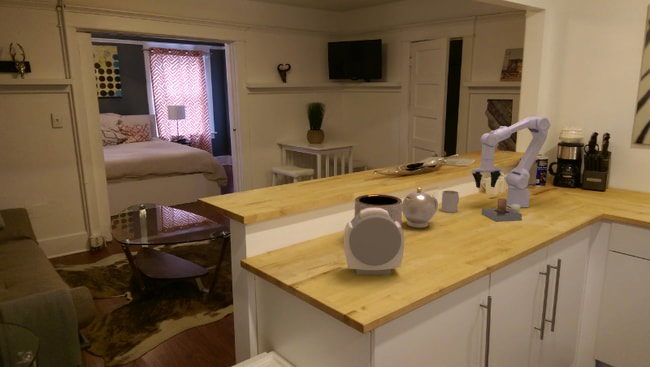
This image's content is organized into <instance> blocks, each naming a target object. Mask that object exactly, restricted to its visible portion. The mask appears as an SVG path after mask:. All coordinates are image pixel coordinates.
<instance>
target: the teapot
mask: <svg viewBox="0 0 650 367" xmlns="http://www.w3.org/2000/svg"><path fill="white" fill-rule="evenodd" d="M422 190H423V189H422V187H419V186H418V187H417V188H416V191H413V192H410V193H408V195H407V194H406V196H405V198H403V200H402V216H404V218H405V219H406V220H407V221H406V225H407V226H408V227H409V228H414V229H425V228H427V227H429V222H430V221H431V220H432V219H433V217H434V216H435V215H436V213H437V210H438V208H439V202H438V200H437V198H436V197H434V196H431V195H430V194H429V193H427V192H425V191H422Z"/></svg>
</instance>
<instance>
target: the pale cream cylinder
mask: <svg viewBox="0 0 650 367" xmlns="http://www.w3.org/2000/svg"><path fill="white" fill-rule="evenodd" d="M520 208H521V207H520V205H518V204H512V206H511V207H510V209H511V210H513V211H515V212H518V213H520V211H521V209H520ZM520 214H521V213H520Z"/></svg>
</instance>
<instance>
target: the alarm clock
mask: <svg viewBox="0 0 650 367" xmlns="http://www.w3.org/2000/svg"><path fill="white" fill-rule="evenodd" d="M354 216H355V215H354ZM354 216H353V218H352V220H350V221H347V223H346V224H345V228H344V231H343V232H344V233H343V244H344V246H343V247H344V254H345V258H346V260H345V261H346V265H347V269H353V270H355V272H356V276H360V275H361V276H362V275H363V276H366V275H367V276H370V275H373V276H374V275H378V276H379V275H392V269H398V268H401V265H402V262H403V259H404V252H405V241H406V240H405V235H404V230H403V229H402V228H403V227H402V228H401V226H400V224H399V223H398V221H396V222H394V221H393V219H392V218H391V217H390V216H389V213H388V212H387V210H384V209H382V208H366V209H364V210H361V211H360V213H359V214H357V215H356V216H355V217H354Z"/></svg>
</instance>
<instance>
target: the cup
mask: <svg viewBox="0 0 650 367" xmlns="http://www.w3.org/2000/svg"><path fill="white" fill-rule="evenodd" d="M441 192H442V193H441V196H442V197H441V212H444V213H448V214H449V213H450V214H453V213H454V214H455V213H457V212H458V206H459V205H458V204H459V202H460V195H459V192H458V191H455V190H442V191H441Z"/></svg>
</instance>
